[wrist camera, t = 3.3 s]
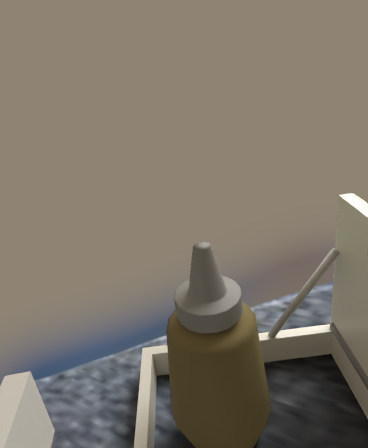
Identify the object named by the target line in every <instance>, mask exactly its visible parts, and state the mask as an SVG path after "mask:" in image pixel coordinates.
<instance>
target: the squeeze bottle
mask: <svg viewBox="0 0 368 448" xmlns="http://www.w3.org/2000/svg"><path fill="white" fill-rule="evenodd" d="M174 302H175V308H176V310H175V311H174V312H173V314H172V315H171V316H170V318H169V319H168V325H167V332H166V333H167V349H168V364H169V380H170V396H171V410H172V413H173V416H174V419H175V422H176V425H177V427H178V428H179V429H180V431H181V432H182V433H183V434H184V435H185V436H186V438H187V439H188V440H189V441H190V442H191V443H192V445H193V446H194V447H195V448H254V446H255V445H256V443H257V441H258V439H259V437H260V436H261V434H262V432H263V430H264V428H265V426H266V424H267V421H268V417H269V414H270V410H271V403H270V397H269V391H268V385H267V379H266V374H265V368H264V363H263V357H262V351H261V346H260V340H259V334H258V329H257V323H256V317H255V314H254V313H253V312H252V310H251V309H250V308H249V307H248V306H247V305H246V304H245V303H243V302H242V296H241V288H240V287H239V286H238V284H237V283H236V282H235V281H234V280H231V279H230V278H227V277H225V276H222V275H221V272H220V269H219V266H218V264H217V261H216V258H215V255H214V252H213V250H212V247H211V245H210V243H207V242H200V243H197V244H195V245H194V246H193V252H192V262H191V271H190V279H189V280H187V281H186V282H184V283H182V284H181V286H180V287H179V288H178V289H177V291H176V292H175V298H174Z"/></svg>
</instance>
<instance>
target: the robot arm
mask: <svg viewBox="0 0 368 448" xmlns="http://www.w3.org/2000/svg"><path fill="white" fill-rule="evenodd" d="M54 431H55V430H54V428H53V425H52V423H51V420H50V418H49V415H48V413H47V411H46V408H45V406H44V403H43V401H42V398H41V396H40V394H39V391H38V389H37V386H36V384H35V381H34V379H33V377H32V374H31V372H24V373H19V374H14V375H8V376H5V377H4V379H3V382H2V384H1V386H0V448H51V445H52V440H53V436H54Z"/></svg>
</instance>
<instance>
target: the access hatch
mask: <svg viewBox="0 0 368 448" xmlns="http://www.w3.org/2000/svg"><path fill="white" fill-rule="evenodd" d="M334 260H335V262H334V277H333V293H332V308H331V323H330V324H328V325H321V326H313V327H305V328H297V329H289V330H281V329H282V327H283V326H284V325H285V324H286V322H287V321H288V320H289V318H290V317H291V316H292V314H293V313H294V312H295V310H296V309H297V308H298V307H299V305H300V304H301V303H302V301H303V300H304V299H305V297H306V296H307V295H308V293H309V292H310V291H311V290H312V288H313V287H314V286H315V284H316V283H317V282H318V280H319V279H320V278H321V276H322V275H323V274H324V272H325V271H326V270H327V269H328V267H329V266H330V265H331V263H332V262H333V261H334ZM280 330H281V331H280ZM258 334H259V340H260V346H261V351H262V357H263V362H271V361H279V360H287V359H295V358H303V357H311V356H319V355H327V354H331V355H332V356H333V358H334V360H335V362H336V364H337V365H338V367H339V369H340V371H341V372H342V374H343V376H344V378H345V380H346V381H347V383H348V385H349V387H350V389H351V390H352V392H353V394H354V396H355V397H356V399H357V401H358V403H359V405H360V406H361V408H362V410H363V412H364V414H365V415H366V417H367V419H368V204H367V203H366V202H365V201H363V200H362V199H360V198H359V197H358V196H356V195H354V194H353V193H351V194H344V195H339V200H338V216H337V231H336V247H335V249H334V248H332V250H331V251H330V252H329V254H328V255H327V256H326V258H325V259H324V260H323V261H322V263H321V264H320V265H319V267H318V268H317V270H316V271H315V272H314V273H313V275H312V276H311V278H310V279H309V280H308V281H307V283H306V284H305V285H304V287H303V288H302V289H301V291H300V292H299V293H298V295H297V296H296V297H295V299H294V300H293V301H292V303H291V304H290V305H289V307H288V308H287V309H286V311H285V312H284V313H283V315H282V316H281V317H280V319H279V320H278V321H277V323H276V324H275V325H274V327H273V328H272V329H271V331H270V332H266V333H258ZM168 374H169V364H168V349H167V345H163V346H156V347H148V348H143V351H142V362H141V373H140V384H139V396H138V407H137V418H136V429H135V440H134V448H154V440H155V412H156V385H157V376H160V375H168Z"/></svg>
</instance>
